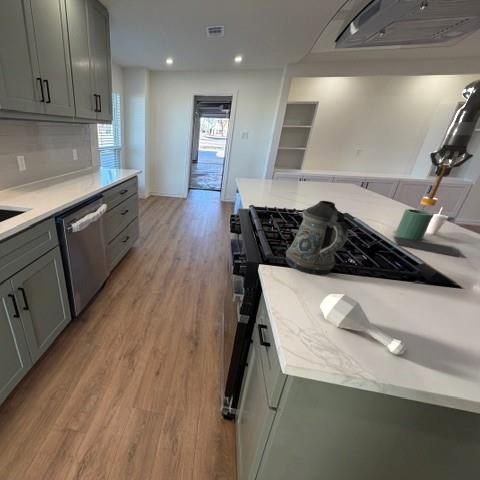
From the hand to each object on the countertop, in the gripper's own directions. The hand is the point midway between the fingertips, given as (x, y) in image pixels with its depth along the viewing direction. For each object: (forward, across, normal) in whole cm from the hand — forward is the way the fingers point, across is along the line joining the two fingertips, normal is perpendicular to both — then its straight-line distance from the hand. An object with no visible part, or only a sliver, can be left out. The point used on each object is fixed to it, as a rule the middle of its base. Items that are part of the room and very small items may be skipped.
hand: (440, 176), depth 113 cm
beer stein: (+31, -37, -63) cm, 79 cm away
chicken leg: (+31, -22, -96) cm, 103 cm away
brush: (+13, 0, 0) cm, 13 cm away
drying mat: (+31, +3, -9) cm, 32 cm away
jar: (+31, -1, +3) cm, 31 cm away
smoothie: (+31, +10, +18) cm, 37 cm away
